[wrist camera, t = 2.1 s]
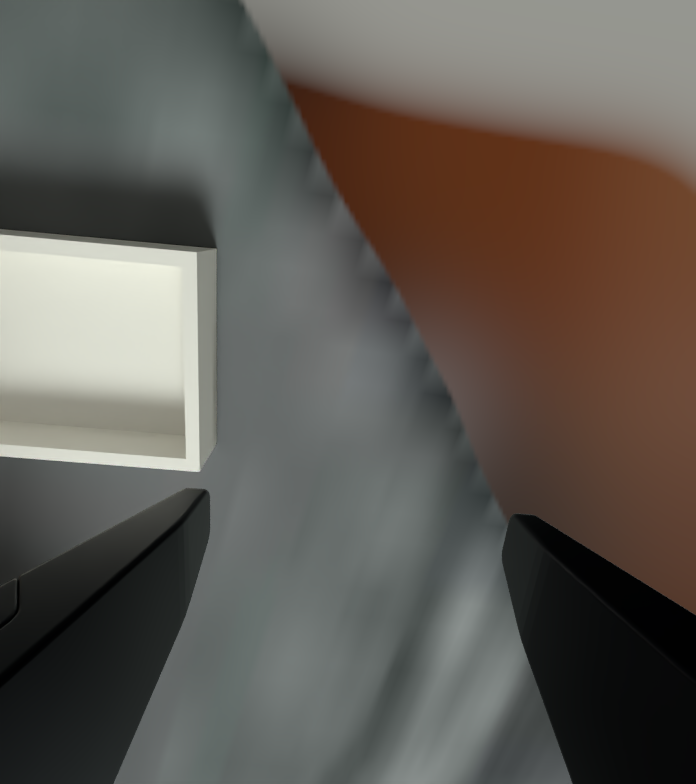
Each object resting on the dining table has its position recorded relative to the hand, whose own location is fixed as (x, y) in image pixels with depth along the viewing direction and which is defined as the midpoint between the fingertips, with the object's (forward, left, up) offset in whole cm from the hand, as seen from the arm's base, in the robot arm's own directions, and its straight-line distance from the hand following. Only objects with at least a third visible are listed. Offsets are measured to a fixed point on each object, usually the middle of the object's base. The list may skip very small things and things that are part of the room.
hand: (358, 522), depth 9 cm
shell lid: (0, +14, -11) cm, 17 cm away
